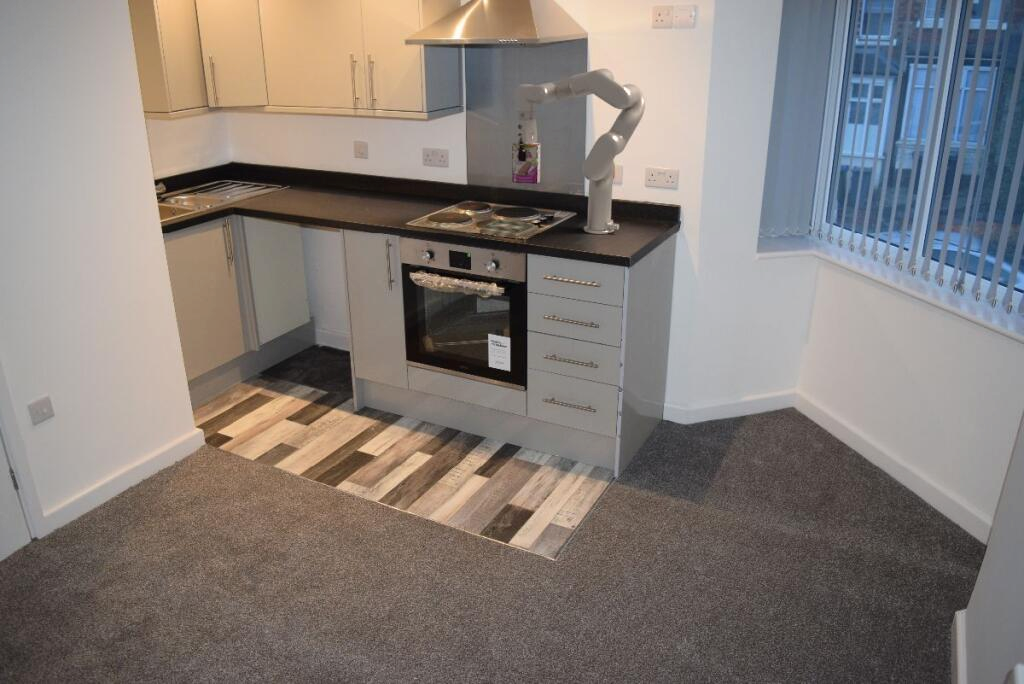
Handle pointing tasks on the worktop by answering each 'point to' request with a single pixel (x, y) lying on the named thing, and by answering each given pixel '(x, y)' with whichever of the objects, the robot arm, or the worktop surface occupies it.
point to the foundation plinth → (508, 228)
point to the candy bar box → (526, 164)
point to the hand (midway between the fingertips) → (526, 159)
